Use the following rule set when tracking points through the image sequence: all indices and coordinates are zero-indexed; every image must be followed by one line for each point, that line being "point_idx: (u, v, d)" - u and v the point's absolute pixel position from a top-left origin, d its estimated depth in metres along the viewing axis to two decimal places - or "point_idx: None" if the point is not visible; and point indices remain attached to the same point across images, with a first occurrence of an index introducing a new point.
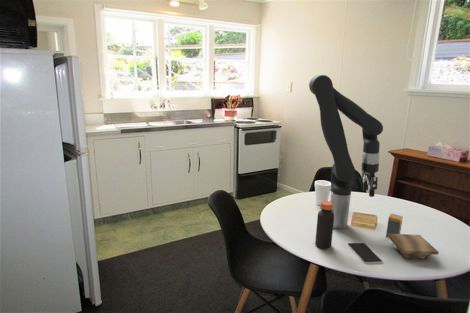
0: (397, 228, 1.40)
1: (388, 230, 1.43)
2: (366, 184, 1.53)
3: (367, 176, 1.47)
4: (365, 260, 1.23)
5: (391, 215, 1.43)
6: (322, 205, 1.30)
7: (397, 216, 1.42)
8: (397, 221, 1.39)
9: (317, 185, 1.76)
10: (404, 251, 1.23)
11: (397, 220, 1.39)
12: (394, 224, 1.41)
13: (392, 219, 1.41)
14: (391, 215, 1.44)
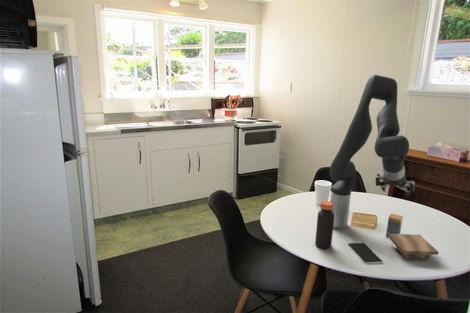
0: (397, 228, 1.40)
1: (388, 230, 1.43)
2: None
3: None
4: (365, 260, 1.23)
5: (391, 215, 1.43)
6: (322, 205, 1.30)
7: (397, 216, 1.42)
8: (397, 221, 1.40)
9: (317, 185, 1.76)
10: (404, 251, 1.23)
11: (397, 220, 1.39)
12: (394, 224, 1.41)
13: (392, 219, 1.41)
14: (391, 215, 1.44)
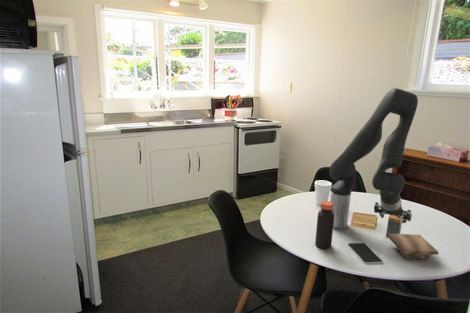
0: (397, 228, 1.40)
1: (388, 230, 1.43)
2: None
3: None
4: (365, 260, 1.23)
5: (391, 215, 1.43)
6: (322, 205, 1.30)
7: None
8: (397, 221, 1.40)
9: (317, 185, 1.76)
10: (404, 251, 1.23)
11: (397, 220, 1.39)
12: (394, 224, 1.41)
13: (392, 219, 1.41)
14: (391, 215, 1.44)
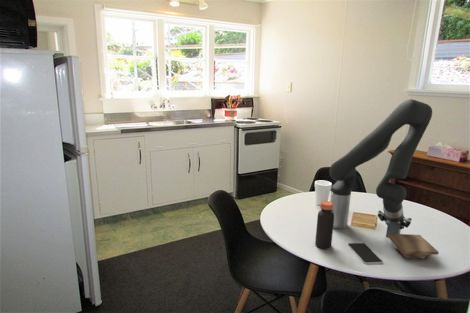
0: (397, 228, 1.40)
1: (388, 230, 1.43)
2: None
3: None
4: (365, 260, 1.23)
5: None
6: (322, 205, 1.30)
7: None
8: None
9: (317, 185, 1.76)
10: (404, 251, 1.23)
11: None
12: (394, 224, 1.41)
13: None
14: None
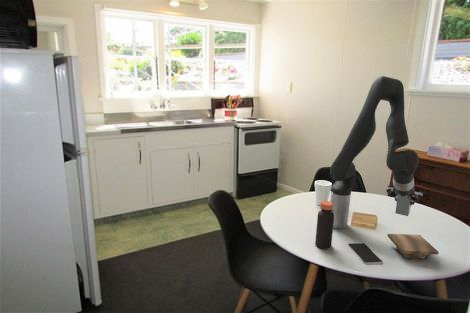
0: (407, 203, 1.33)
1: (398, 206, 1.35)
2: None
3: None
4: (365, 260, 1.23)
5: None
6: (322, 205, 1.30)
7: None
8: None
9: (317, 185, 1.76)
10: (404, 251, 1.23)
11: None
12: (404, 199, 1.33)
13: None
14: None
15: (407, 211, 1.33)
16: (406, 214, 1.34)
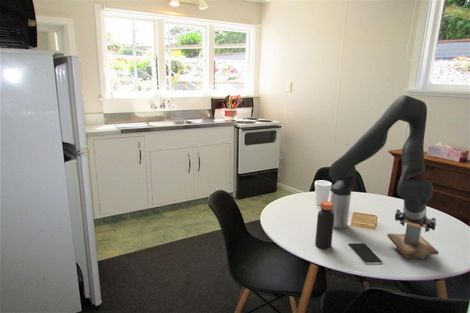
0: (417, 233, 1.25)
1: (406, 235, 1.28)
2: None
3: None
4: (365, 260, 1.23)
5: None
6: (322, 205, 1.30)
7: None
8: (417, 225, 1.25)
9: (317, 185, 1.76)
10: (404, 251, 1.23)
11: (417, 224, 1.25)
12: (413, 229, 1.26)
13: (411, 223, 1.26)
14: None
15: (417, 241, 1.26)
16: (415, 244, 1.26)
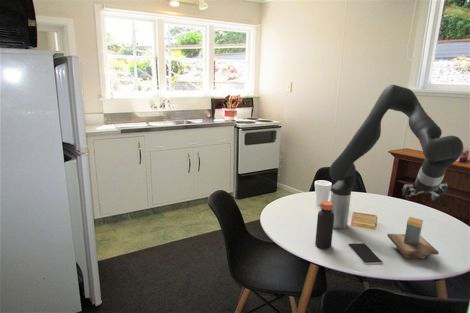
0: (417, 233, 1.25)
1: (406, 235, 1.28)
2: (433, 195, 1.18)
3: None
4: (365, 261, 1.23)
5: (410, 219, 1.28)
6: (322, 205, 1.30)
7: (417, 220, 1.27)
8: (417, 225, 1.25)
9: (317, 185, 1.76)
10: (404, 251, 1.23)
11: (417, 224, 1.25)
12: (413, 229, 1.26)
13: (411, 223, 1.26)
14: (410, 218, 1.29)
15: (417, 241, 1.26)
16: (415, 244, 1.26)
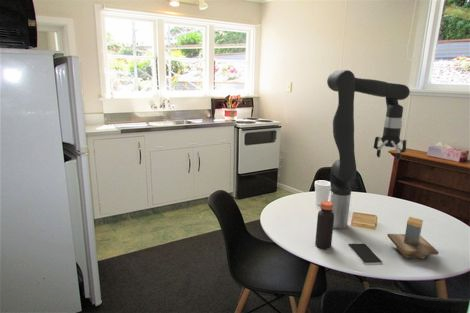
0: (417, 233, 1.25)
1: (406, 235, 1.28)
2: (380, 151, 1.56)
3: (393, 141, 1.49)
4: (365, 261, 1.23)
5: (410, 219, 1.28)
6: (322, 205, 1.30)
7: (417, 220, 1.27)
8: (417, 225, 1.25)
9: (317, 185, 1.76)
10: (404, 251, 1.23)
11: (417, 224, 1.25)
12: (413, 229, 1.26)
13: (411, 223, 1.26)
14: (410, 218, 1.29)
15: (417, 241, 1.26)
16: (415, 244, 1.26)
